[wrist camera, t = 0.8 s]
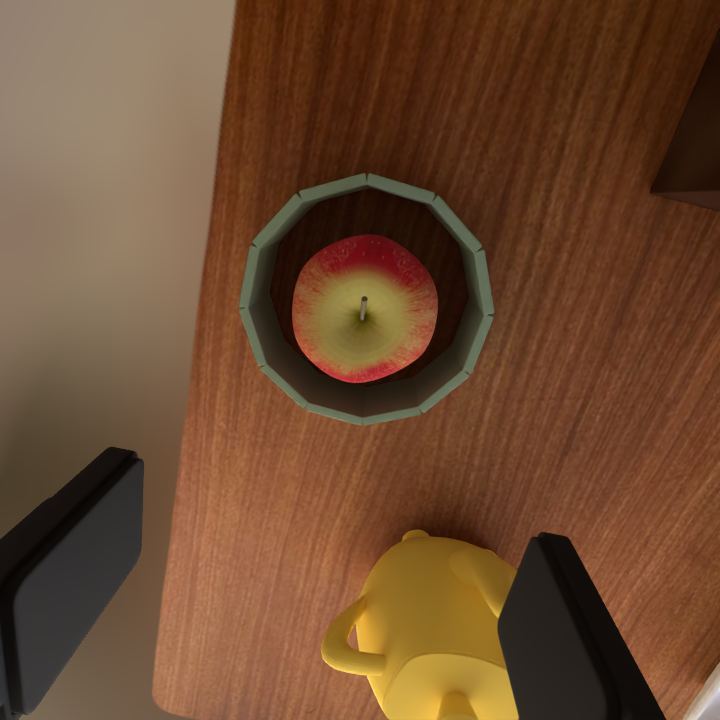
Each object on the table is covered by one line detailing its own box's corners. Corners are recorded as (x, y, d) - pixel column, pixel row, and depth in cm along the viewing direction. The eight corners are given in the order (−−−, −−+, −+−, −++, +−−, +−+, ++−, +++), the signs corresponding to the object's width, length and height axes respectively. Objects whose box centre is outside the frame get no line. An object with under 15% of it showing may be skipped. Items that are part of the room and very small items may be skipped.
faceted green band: (235, 214, 29) (206, 216, 24) (453, 154, 27) (467, 143, 22) (298, 408, 33) (283, 442, 29) (490, 368, 32) (508, 397, 27)
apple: (441, 240, 29) (467, 258, 19) (416, 362, 32) (428, 430, 22) (315, 219, 29) (280, 227, 19) (301, 343, 32) (264, 403, 22)
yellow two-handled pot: (555, 601, 38) (625, 766, 27) (405, 654, 41) (412, 822, 30) (486, 476, 34) (534, 607, 23) (327, 544, 37) (302, 690, 26)
